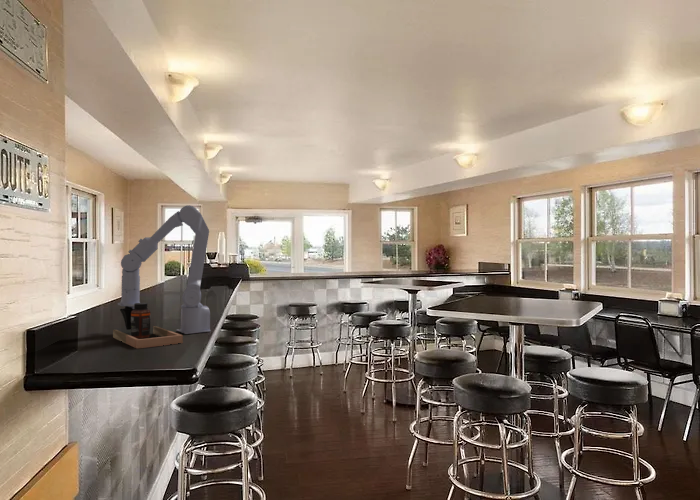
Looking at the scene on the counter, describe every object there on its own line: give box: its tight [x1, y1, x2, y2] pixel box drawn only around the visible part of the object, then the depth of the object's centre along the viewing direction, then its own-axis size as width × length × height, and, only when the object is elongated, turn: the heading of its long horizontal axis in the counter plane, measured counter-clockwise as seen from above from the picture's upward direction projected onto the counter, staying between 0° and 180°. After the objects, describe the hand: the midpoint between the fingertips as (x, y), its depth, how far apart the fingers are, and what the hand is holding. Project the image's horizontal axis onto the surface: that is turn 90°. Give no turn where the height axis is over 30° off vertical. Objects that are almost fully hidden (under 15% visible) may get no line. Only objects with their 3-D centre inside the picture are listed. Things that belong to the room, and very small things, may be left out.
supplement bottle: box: [130, 302, 151, 339], centre depth 168 cm, size 6×6×11 cm
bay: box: [112, 325, 184, 350], centre depth 164 cm, size 14×22×2 cm, turn 42°
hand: (130, 329), depth 175 cm, fingers closed
